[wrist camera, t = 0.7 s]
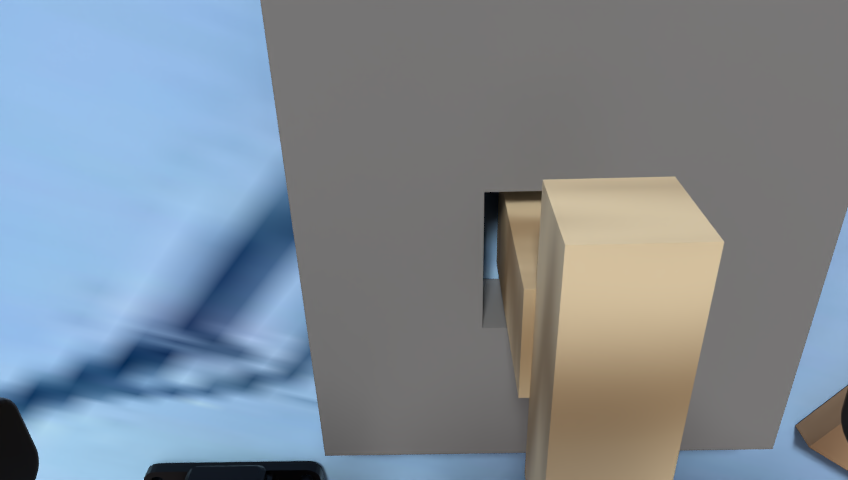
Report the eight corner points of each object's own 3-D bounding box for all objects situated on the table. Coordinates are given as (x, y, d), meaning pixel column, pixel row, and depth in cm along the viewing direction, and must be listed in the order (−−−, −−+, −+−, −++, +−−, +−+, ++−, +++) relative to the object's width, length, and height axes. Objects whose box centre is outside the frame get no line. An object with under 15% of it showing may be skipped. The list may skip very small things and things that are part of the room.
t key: (587, 325, 22) (666, 563, 15) (494, 327, 22) (527, 565, 15) (614, 83, 18) (740, 241, 11) (501, 86, 18) (549, 245, 11)
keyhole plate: (740, 393, 23) (772, 449, 21) (334, 400, 24) (325, 455, 22) (856, -44, 16) (920, -29, 14) (281, -27, 17) (258, -9, 15)
